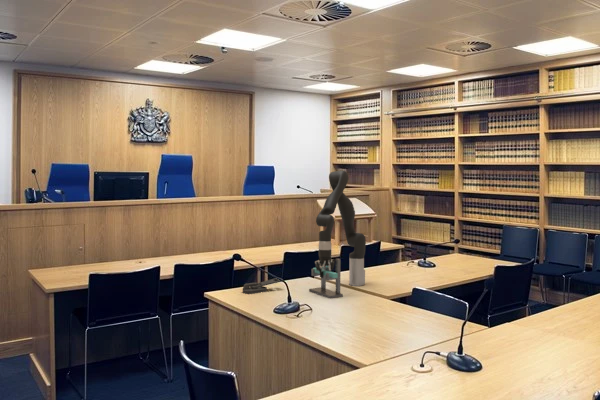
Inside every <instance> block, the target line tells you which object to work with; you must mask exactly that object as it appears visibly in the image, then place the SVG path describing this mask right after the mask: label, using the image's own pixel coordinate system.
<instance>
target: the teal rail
mask: <svg viewBox="0 0 600 400" xmlns="http://www.w3.org/2000/svg"><path fill="white" fill-rule="evenodd" d="M312 269H315V273H318V274H320V271H317V269H316V267H313V268H312ZM326 273H329V277H332V278H338V273H336V272H334V271H327V269H326V270H323V275H325V276H326Z"/></svg>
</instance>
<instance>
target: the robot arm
mask: <svg viewBox="0 0 600 400" xmlns="http://www.w3.org/2000/svg"><path fill="white" fill-rule="evenodd" d="M349 177H350V176H349V173H348V172H347V171H346V170H337V171H331V172H330V173H329V174H328V181H329V185H330V187H331V189H332V192H330V194H328V196H327V198H326V199H325V202H324V205H323V207H322V209H321V210H320V211H319V212H318V214H317V216H316V218H315V223H316V225H317V226H318V227H321V228H322V227H326V228H325V229H324V230H320V231H319V232H318V260H315V261H314V266H315V268H316V269H317V271H320V275H319V277H320V279H321V278H323V269H324V267H325V266H326V270H327V271H330V272H332V270H334V269H335V265H336V259H332V233H333V232H332V231H333V228H334V224H335V218H334V216H333V214H334V213H335V211H336V207H338V211H339V214H340V217H341V220H342V224H343V227H344V233H345V238H346V242H347V245H348V246H350V247H353V248H354V249H353V251H352V252H350V253H349V257H348V258H349V259H348V260H349V268H348V269H349V274H348V275H349V277H348V279H349V280H348V283H349V286H353V287H360V286H361V287H362V286H365V285H366V270H365V255H366V247H367V246H366V242H367V241H366V236H365V235H364V234H363V233H360V232H356V229H355V227H354V226H355V225H354V221H355V217H356V211H355V207H354V204H353V201H351V199H350V198H349V197H348V196H347V195H346V194H345V192H344V190H345V189H346V187H347V184H348V183H349Z"/></svg>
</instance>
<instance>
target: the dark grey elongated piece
mask: <svg viewBox="0 0 600 400" xmlns="http://www.w3.org/2000/svg"><path fill="white" fill-rule="evenodd" d="M277 278H278V277H275V278H271V279H268V280H264V281H261V282H250V283H249V282H248V283H245V284H243V288H242V294H244V293H245V295H253V294H259V293H261V292H262V293H267V291H268V288H267V286H270V285H273V284H278V283H282V282H283V281H284V280H283V278H281V277H279V278H280V279H282V280H283V281H280V280H279V279H277Z"/></svg>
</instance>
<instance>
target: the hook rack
mask: <svg viewBox="0 0 600 400" xmlns="http://www.w3.org/2000/svg"><path fill="white" fill-rule="evenodd" d="M323 270H327V268H326V266H325V267H324V269H323ZM335 273H338V278H332V277H329V273H326V276H325V275H323V278H320V286H319V287H313V288H308V291H309V292H310V293H312V294H313V293H314V294H316V295H319V296H321V297H324V298H327V299H329V300H330V299H331V300H332V299H338V298H342V297H344V294H343V293H341V258H335ZM318 276H320V274H318V273H315V269H313V268H311V277H318ZM333 280H334V281H335V290H332V289H328V288H327V287H326V286H327V285H326V283H327V282H326V281H333Z"/></svg>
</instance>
